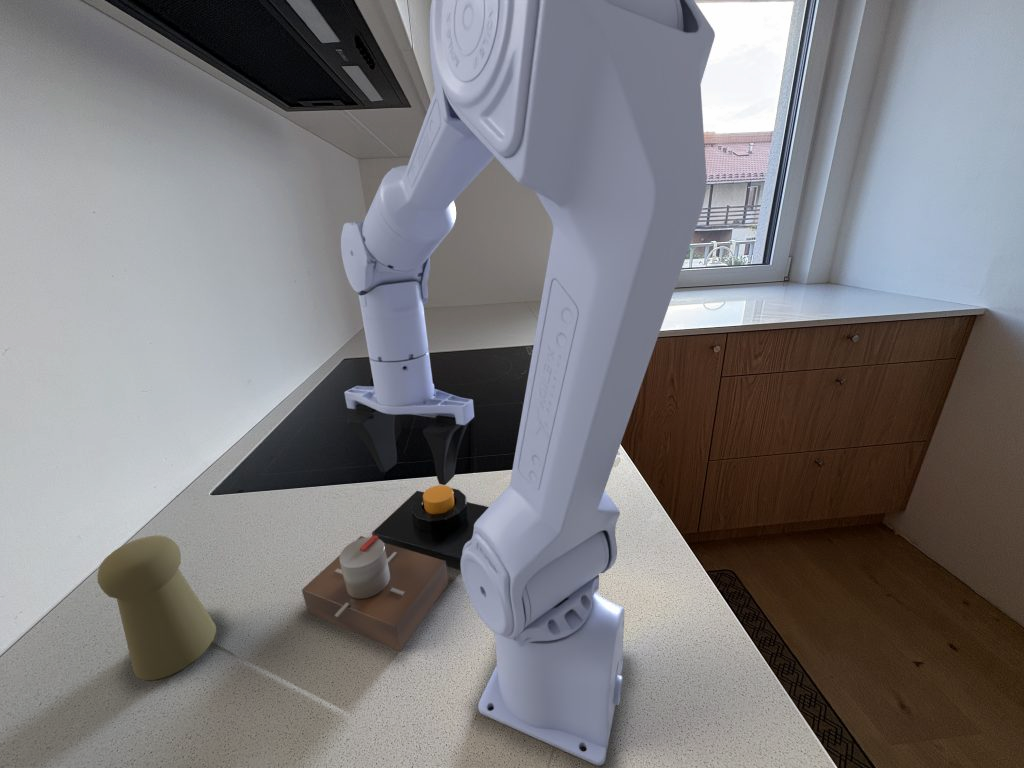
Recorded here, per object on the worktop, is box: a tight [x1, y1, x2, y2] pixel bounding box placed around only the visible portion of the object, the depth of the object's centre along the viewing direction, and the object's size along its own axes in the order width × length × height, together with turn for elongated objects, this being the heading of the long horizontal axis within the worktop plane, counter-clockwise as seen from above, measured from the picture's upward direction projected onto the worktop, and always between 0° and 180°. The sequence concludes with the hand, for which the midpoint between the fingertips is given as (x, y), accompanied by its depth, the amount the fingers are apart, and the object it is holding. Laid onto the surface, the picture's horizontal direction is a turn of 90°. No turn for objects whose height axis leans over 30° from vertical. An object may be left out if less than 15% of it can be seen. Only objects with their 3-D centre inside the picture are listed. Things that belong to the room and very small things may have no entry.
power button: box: [423, 484, 455, 514], centre depth 51 cm, size 4×4×2 cm
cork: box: [96, 534, 217, 681], centre depth 36 cm, size 6×6×11 cm
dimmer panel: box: [301, 535, 449, 652], centre depth 41 cm, size 11×9×3 cm
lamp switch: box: [371, 487, 490, 571], centre depth 50 cm, size 12×9×4 cm
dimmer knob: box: [339, 535, 390, 599], centre depth 39 cm, size 4×4×4 cm
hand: (416, 473), depth 46 cm, fingers open, 7 cm apart
